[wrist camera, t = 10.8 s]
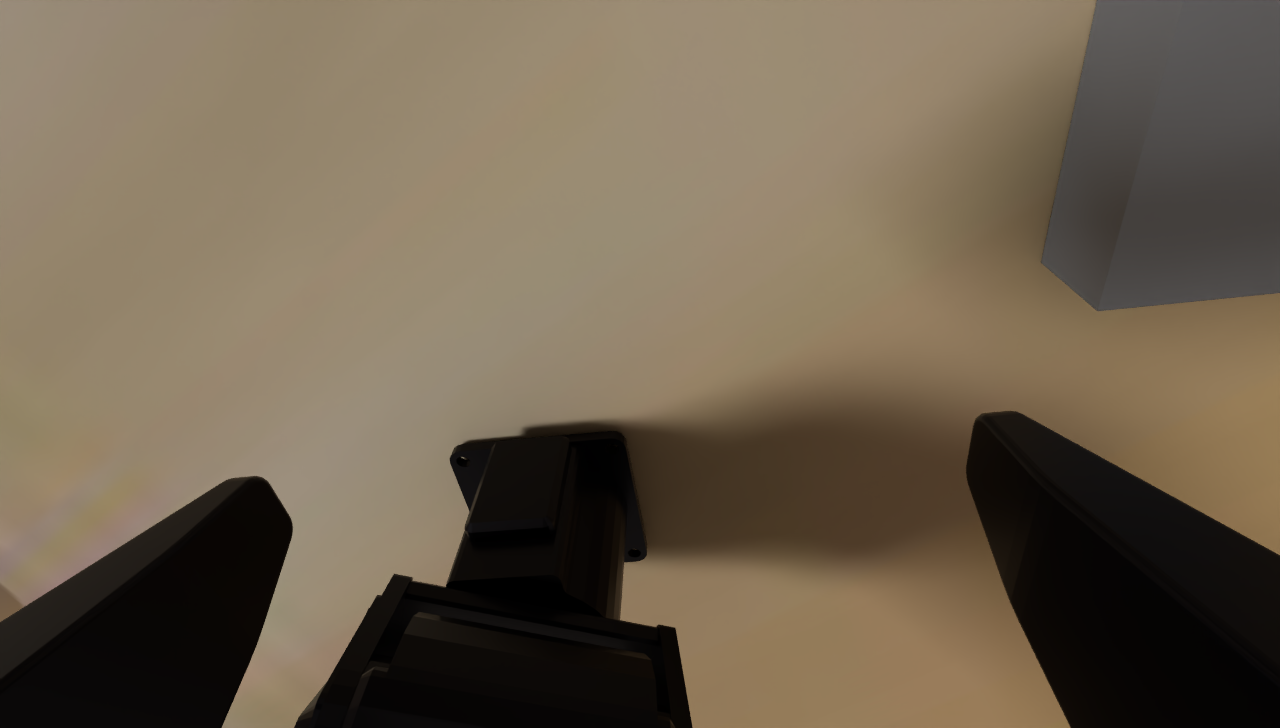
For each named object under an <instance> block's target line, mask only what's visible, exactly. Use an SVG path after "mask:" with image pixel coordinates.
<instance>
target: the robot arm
mask: <svg viewBox="0 0 1280 728" xmlns="http://www.w3.org/2000/svg"><path fill="white" fill-rule="evenodd" d="M608 444H615V445H617V447H610V446H608ZM461 457H466V458H468V459H469V460H465V459H463V458H461ZM450 464H451V466H452V469H453V471H454V474H455V476H456V479H457V481H458V484H459V486H460V489H461V491H462V494H463V496H464V499H465V501H466V504H467V506H468V509H469V511H470V512H469V515H468V518H467V521H466V524H465V531H464V534H463V537H462V540H461V543H460V546H459V549H458V552H457V555H456V557H455V560H454V563H453V566H452V569H451V572H450V575H449V578H448V581H447V584H446V587H443V586H438V585H433V584H428V583H422V582H417V581H412V580H413V577H408V576H403V575H398V574H394V575H393V577H392V578H391V580H390V582H389V584H388V585H387V587H386V589H385V591H384V592H383V594H382V596H381V595H377V597H376V598H375V600H374V602H373V603H372V605H371V607H370V608H369V609H368V611H367V613H366V615H365V617H364V619H363V621H362V622H361V624H360V626H359V628H358V629H357V631H356V633H355V635H354V636H353V638H352V640H351V641H350V643H349V645H348V647H347V648H346V650H345V652H344V654H343V655H342V657H341V659H340V660H339V662H338V664H337V666H336V667H335V669H334V671H333V673H332V674H331V676H330V678H329V679H328V681H327V682H326V684H325V685H324V686H323V687H322V689H321V690H320V691H319V692H318V694H317V695H316V696H315V697H314V699H313V700H312V701H311V702H310V703H309V705H308V706H307V707H306V708H305V710H304V711H303V712H302V713H301V715H300V716H299V718H298V720H297V722H296V725H295V727H294V728H692V722H691V717H690V711H689V705H688V699H687V693H686V687H685V681H684V676H683V670H682V664H681V658H680V652H679V646H678V640H677V634H676V629H675V628H674V627H669V626H663V625H657V627H652V626H647V625H642V624H637V623H632V622H626V621H621V620H620V613H621V599H622V584H623V570H624V562H636V561H641V560H643V559H644V558H645V557H646V555H647V542H646V537H645V532H644V527H643V522H642V517H641V511H640V506H639V501H638V496H637V491H636V486H635V481H634V476H633V471H632V466H631V461H630V456H629V451H628V446H627V441H626V438H625V437H624V436H623V435H622V434H621V433H619V432H616V431H607V432H595V433H584V434H573V435H561V436H550V437H539V438H527V439H516V440H505V441H494V442H482V443H471V444H461V445H458V446H456V447H455V448H454V450H453V452H452V455H451V457H450ZM966 475H967V481H968V485H969V488H970V491H971V494H972V497H973V500H974V503H975V505H976V508H977V511H978V514H979V517H980V520H981V522H982V525H983V528H984V531H985V534H986V537H987V539H988V542H989V545H990V548H991V551H992V554H993V556H994V559H995V562H996V565H997V568H998V571H999V573H1000V576H1001V579H1002V582H1003V585H1004V587H1005V590H1006V593H1007V595H1008V598H1009V600H1010V603H1011V605H1012V607H1013V609H1014V612H1015V614H1016V616H1017V618H1018V620H1019V623H1020V625H1021V627H1022V629H1023V631H1024V633H1025V635H1026V637H1027V639H1028V641H1029V643H1030V645H1031V647H1032V649H1033V651H1034V653H1035V655H1036V658H1037V660H1038V662H1039V664H1040V666H1041V668H1042V670H1043V672H1044V674H1045V676H1046V678H1047V680H1048V682H1049V684H1050V686H1051V688H1052V690H1053V692H1054V694H1055V696H1056V699H1057V701H1058V703H1059V705H1060V707H1061V709H1062V711H1063V713H1064V715H1065V717H1066V719H1067V721H1068V723H1069V725H1070V727H1071V728H1280V555H1278V554H1276V553H1275V552H1273V551H1271V550H1269V549H1267V548H1265V547H1264V546H1262V545H1260V544H1258V543H1256V542H1255V541H1253V540H1251V539H1249V538H1247V537H1245V536H1244V535H1242V534H1240V533H1238V532H1236V531H1234V530H1233V529H1231V528H1229V527H1227V526H1225V525H1224V524H1222V523H1220V522H1218V521H1216V520H1214V519H1213V518H1211V517H1209V516H1207V515H1205V514H1203V513H1202V512H1200V511H1198V510H1196V509H1194V508H1193V507H1191V506H1189V505H1187V504H1185V503H1183V502H1182V501H1180V500H1178V499H1176V498H1174V497H1173V496H1171V495H1169V494H1167V493H1165V492H1163V491H1162V490H1160V489H1158V488H1156V487H1154V486H1152V485H1151V484H1149V483H1147V482H1145V481H1143V480H1142V479H1140V478H1138V477H1136V476H1134V475H1132V474H1131V473H1129V472H1127V471H1125V470H1123V469H1121V468H1120V467H1118V466H1116V465H1114V464H1112V463H1111V462H1109V461H1107V460H1105V459H1103V458H1101V457H1100V456H1098V455H1096V454H1094V453H1092V452H1090V451H1089V450H1087V449H1085V448H1083V447H1081V446H1080V445H1078V444H1076V443H1074V442H1072V441H1070V440H1069V439H1067V438H1065V437H1063V436H1061V435H1060V434H1058V433H1056V432H1054V431H1052V430H1050V429H1049V428H1047V427H1045V426H1043V425H1041V424H1039V423H1038V422H1036V421H1034V420H1032V419H1030V418H1029V417H1027V416H1025V415H1023V414H1021V413H1019V412H1016V411H1003V412H992V413H983V414H981V415H979V416H978V417H977V418H976V420H975V422H974V425H973V431H972V436H971V442H970V448H969V453H968V459H967V465H966ZM292 532H293V526H292V521H291V518H290V516H289V514H288V513H287V511H286V509H285V508H284V506H283V505H282V503H281V501H280V500H279V498H278V497H277V495H276V493H275V492H274V490H273V488H272V487H271V485H270V484H269V482H268V481H267V480H265V479H264V478H262V477H258V476H250V477H239V478H232V479H228V480H226V481H224V482H222V483H221V484H219V485H218V486H216V487H214V488H213V489H211V490H210V491H208V492H206V493H205V494H203V495H202V496H200V497H198V498H197V499H195V500H194V501H192V502H191V503H189V504H187V505H186V506H184V507H183V508H181V509H179V510H178V511H176V512H175V513H173V514H171V515H170V516H168V517H167V518H165V519H163V520H162V521H160V522H159V523H157V524H156V525H154V526H152V527H151V528H149V529H148V530H146V531H144V532H143V533H141V534H140V535H138V536H136V537H135V538H133V539H132V540H130V541H129V542H127V543H125V544H124V545H122V546H121V547H119V548H117V549H116V550H114V551H113V552H111V553H109V554H108V555H106V556H105V557H103V558H101V559H100V560H98V561H97V562H95V563H94V564H92V565H90V566H89V567H87V568H86V569H84V570H82V571H81V572H79V573H78V574H76V575H74V576H73V577H71V578H70V579H68V580H66V581H65V582H63V583H62V584H60V585H59V586H57V587H55V588H54V589H52V590H51V591H49V592H47V593H46V594H44V595H43V596H41V597H39V598H38V599H36V600H35V601H33V602H32V603H30V604H28V605H27V606H25V607H24V608H22V609H20V610H19V611H17V612H16V613H14V614H12V615H11V616H9V617H8V618H6V619H4V620H3V621H1V622H0V728H222V725H223V723H224V721H225V718H226V716H227V714H228V711H229V709H230V707H231V704H232V702H233V700H234V697H235V695H236V693H237V691H238V688H239V686H240V684H241V681H242V679H243V677H244V674H245V672H246V670H247V667H248V665H249V663H250V660H251V658H252V655H253V653H254V650H255V648H256V645H257V642H258V640H259V637H260V634H261V631H262V628H263V625H264V622H265V619H266V616H267V613H268V610H269V607H270V603H271V600H272V597H273V594H274V591H275V588H276V585H277V582H278V579H279V576H280V572H281V569H282V566H283V563H284V560H285V557H286V554H287V551H288V548H289V544H290V541H291V538H292ZM634 549H637V550H634Z"/></svg>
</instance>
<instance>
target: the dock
mask: <svg viewBox="0 0 1280 728" xmlns="http://www.w3.org/2000/svg"><path fill="white" fill-rule="evenodd" d="M1041 263H1042V264H1043V265H1044V266H1046V267H1047V268H1048V269H1049V270H1050V271H1051V272H1053V273H1054V274H1055V275H1056V276H1057V277H1058V278H1059V279H1061V280H1062V281H1063V282H1064V283H1065V284H1066V285H1068V286H1069V287H1070V288H1071V289H1072V290H1073V291H1075V292H1076V293H1077V294H1078V295H1079V296H1080V297H1082V298H1083V299H1084V300H1085V301H1086V302H1087V303H1088V304H1090V305H1091V306H1092V307H1093V308H1094V309H1095V310H1097V311H1104V310H1114V309H1124V308H1134V307H1144V306H1154V305H1164V304H1174V303H1184V302H1194V301H1204V300H1214V299H1224V298H1234V297H1244V296H1254V295H1264V294H1274V293H1280V0H1097V3H1096V8H1095V12H1094V17H1093V22H1092V26H1091V31H1090V36H1089V40H1088V45H1087V50H1086V54H1085V59H1084V64H1083V68H1082V73H1081V78H1080V82H1079V87H1078V92H1077V97H1076V101H1075V106H1074V111H1073V115H1072V120H1071V125H1070V129H1069V134H1068V139H1067V143H1066V148H1065V153H1064V157H1063V162H1062V167H1061V171H1060V176H1059V181H1058V186H1057V190H1056V195H1055V200H1054V204H1053V209H1052V214H1051V218H1050V223H1049V228H1048V232H1047V237H1046V242H1045V246H1044V251H1043V256H1042V260H1041Z"/></svg>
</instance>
